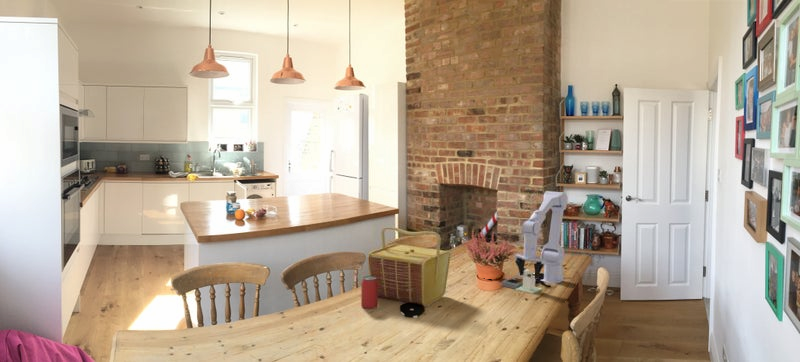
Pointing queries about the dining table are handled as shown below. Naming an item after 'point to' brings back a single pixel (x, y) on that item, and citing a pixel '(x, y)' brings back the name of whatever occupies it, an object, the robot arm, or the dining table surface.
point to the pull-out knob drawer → (524, 273)
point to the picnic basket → (410, 270)
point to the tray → (528, 291)
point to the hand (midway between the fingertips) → (529, 276)
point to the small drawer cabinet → (513, 282)
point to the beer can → (369, 292)
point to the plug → (529, 282)
